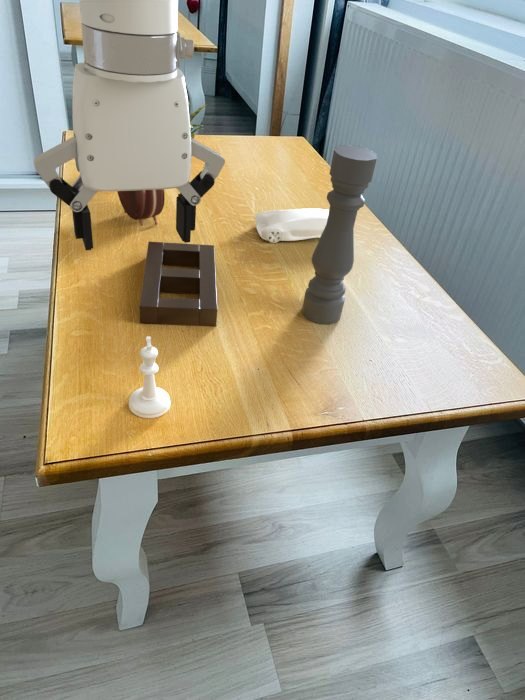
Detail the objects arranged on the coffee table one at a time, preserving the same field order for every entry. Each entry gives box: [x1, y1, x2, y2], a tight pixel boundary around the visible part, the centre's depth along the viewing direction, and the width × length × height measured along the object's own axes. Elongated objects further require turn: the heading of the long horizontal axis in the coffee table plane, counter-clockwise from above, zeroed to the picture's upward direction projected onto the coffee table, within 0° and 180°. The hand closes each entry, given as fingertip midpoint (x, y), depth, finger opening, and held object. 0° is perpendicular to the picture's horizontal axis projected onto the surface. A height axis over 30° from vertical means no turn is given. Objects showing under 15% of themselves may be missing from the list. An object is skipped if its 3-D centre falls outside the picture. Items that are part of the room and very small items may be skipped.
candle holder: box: [301, 144, 378, 325], centre depth 79 cm, size 6×6×25 cm
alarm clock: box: [116, 189, 166, 227], centre depth 100 cm, size 11×5×15 cm, turn 40°
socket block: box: [138, 241, 218, 327], centre depth 86 cm, size 11×19×3 cm, turn 5°
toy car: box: [254, 207, 329, 244], centre depth 106 cm, size 18×8×4 cm, turn 102°
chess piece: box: [128, 335, 171, 419], centre depth 63 cm, size 5×5×10 cm
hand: (136, 240), depth 56 cm, fingers open, 9 cm apart
